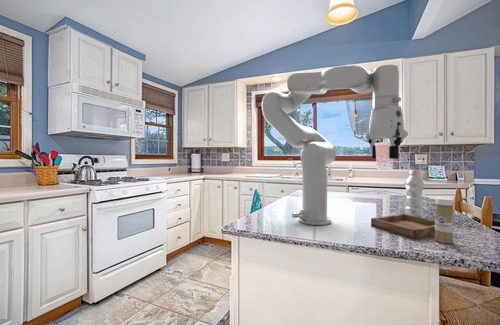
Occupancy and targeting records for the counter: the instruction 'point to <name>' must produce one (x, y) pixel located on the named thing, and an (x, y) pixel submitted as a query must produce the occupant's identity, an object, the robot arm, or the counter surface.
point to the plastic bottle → (414, 194)
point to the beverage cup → (383, 156)
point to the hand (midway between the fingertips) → (384, 157)
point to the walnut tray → (405, 225)
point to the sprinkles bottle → (444, 219)
